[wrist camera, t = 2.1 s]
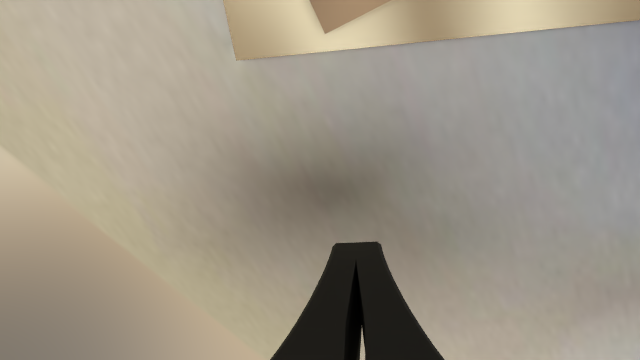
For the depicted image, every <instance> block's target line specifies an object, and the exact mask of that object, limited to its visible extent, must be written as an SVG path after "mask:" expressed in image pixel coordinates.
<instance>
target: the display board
mask: <svg viewBox="0 0 640 360" xmlns="http://www.w3.org/2000/svg"><path fill="white" fill-rule="evenodd" d="M223 2H224V6H225V11H226V15H227V20H228V25H229V29H230V34H231V38H232V43H233V47H234V52H235V57H236V60H246V59H256V58H266V57H276V56H286V55H296V54H306V53H316V52H326V51H336V50H346V49H356V48H366V47H376V46H386V45H396V44H406V43H416V42H426V41H435V40H445V39H455V38H465V37H475V36H485V35H495V34H505V33H515V32H525V31H535V30H545V29H555V28H565V27H575V26H585V25H595V24H605V23H615V22H625V21H635V20H640V0H391V1H389V2H387V3H385V4H383V5H381V6H379V7H377V8H375V9H373V10H371V11H369V12H367V13H365V14H364V15H362V16H360V17H358V18H356V19H354V20H352V21H350V22H348V23H346V24H344V25H342V26H340V27H338V28H336V29H334V30H332V31H330V32H328V33H326V34H325V33H324V31H323V29H322V26H321V24H320V22H319V20H318V18H317V16H316V13H315V11H314V9H313V7H312V5H311V3H310V1H309V0H223Z"/></svg>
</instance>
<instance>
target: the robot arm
mask: <svg viewBox="0 0 640 360" xmlns="http://www.w3.org/2000/svg"><path fill="white" fill-rule="evenodd" d="M362 329H363V338H364V346H365V360H444V358H443V357H442V356H441V355H440V353H439V352H438V351H437V349H436V348H435V346H434V345H433V344H432V342H431V341H430V339H429V338H428V337H427V335H426V334H425V332H424V331H423V329H422V328H421V326H420V325H419V323H418V322H417V320H416V318H415V317H414V315H413V314H412V312H411V310H410V309H409V307H408V305H407V303H406V302H405V300H404V298H403V296H402V294H401V292H400V291H399V289H398V287H397V285H396V283H395V281H394V279H393V277H392V275H391V272H390V270H389V268H388V265H387V263H386V260H385V258H384V255H383V251H382V247H381V244H379V243H378V242H359V243H336V244H335V245H334V246H333V248H332V251H331V254H330V257H329V260H328V262H327V265H326V267H325V270H324V272H323V274H322V276H321V278H320V280H319V282H318V284H317V286H316V288H315V290H314V292H313V294H312V296H311V298H310V300H309V302H308V304H307V305H306V307H305V309H304V310H303V312H302V314H301V316H300V317H299V319H298V321H297V322H296V324H295V325H294V327H293V328H292V330H291V332H290V333H289V335H288V336H287V337H286V339H285V340H284V342H283V343H282V345H281V346H280V347H279V349H278V350H277V352H276V353H275V354H274V355H273V357H272V358H271V359H270V360H360V345H361V330H362Z"/></svg>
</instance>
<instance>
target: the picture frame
mask: <svg viewBox="0 0 640 360" xmlns="http://www.w3.org/2000/svg"><path fill="white" fill-rule="evenodd" d="M309 1H310V3H311V5H312V7H313V9H314V11H315V13H316V16H317V18H318V20H319V22H320V24H321V26H322V29H323V31H324V33H325V34H326V33H328V32H330V31H332V30H334V29H336V28H338V27H340V26H342V25H344V24H346V23H348V22H350V21H352V20H354V19H356V18H358V17H360V16H362V15H364V14H365V13H367V12H369V11H371V10H373V9H375V8H377V7H379V6H381V5H383V4H385V3H387V2H389V1H391V0H309Z"/></svg>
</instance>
